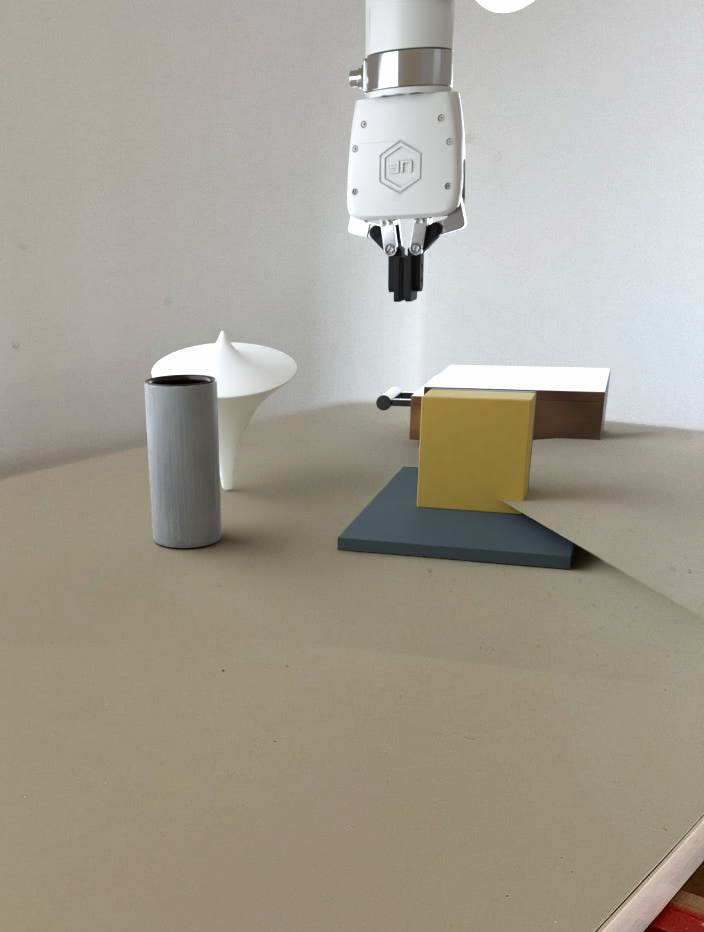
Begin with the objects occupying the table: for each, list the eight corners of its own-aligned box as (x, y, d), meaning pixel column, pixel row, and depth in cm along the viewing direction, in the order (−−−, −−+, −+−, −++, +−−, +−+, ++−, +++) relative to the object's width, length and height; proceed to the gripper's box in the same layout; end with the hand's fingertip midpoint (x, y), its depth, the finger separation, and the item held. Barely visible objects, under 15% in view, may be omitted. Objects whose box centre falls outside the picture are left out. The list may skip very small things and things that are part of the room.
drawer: (365, 437, 92) (366, 394, 90) (395, 412, 102) (396, 373, 101) (569, 447, 86) (574, 401, 84) (578, 419, 96) (582, 378, 95)
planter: (221, 548, 66) (216, 384, 62) (150, 550, 66) (140, 386, 62) (222, 528, 70) (217, 373, 66) (155, 529, 70) (147, 375, 66)
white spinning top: (300, 505, 74) (300, 334, 70) (152, 508, 75) (142, 338, 70) (294, 472, 84) (294, 319, 79) (163, 475, 84) (155, 323, 80)
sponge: (416, 507, 70) (421, 396, 67) (426, 494, 73) (431, 388, 70) (521, 514, 68) (531, 400, 65) (527, 501, 71) (537, 391, 68)
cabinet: (420, 452, 90) (423, 386, 88) (447, 422, 101) (450, 364, 99) (597, 460, 85) (605, 392, 83) (603, 429, 96) (610, 368, 94)
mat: (402, 476, 82) (403, 466, 82) (587, 486, 77) (588, 476, 77) (337, 549, 65) (337, 537, 64) (569, 569, 60) (571, 556, 60)
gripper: (314, 83, 89) (317, 306, 96) (490, 65, 84) (481, 302, 91) (336, 91, 95) (338, 299, 102) (502, 75, 90) (492, 295, 97)
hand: (405, 300), depth 96 cm, fingers closed
